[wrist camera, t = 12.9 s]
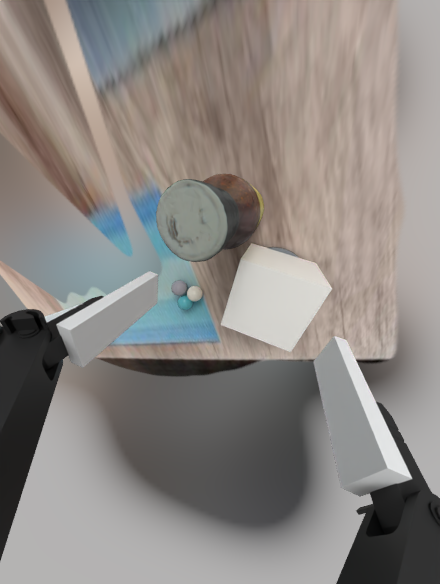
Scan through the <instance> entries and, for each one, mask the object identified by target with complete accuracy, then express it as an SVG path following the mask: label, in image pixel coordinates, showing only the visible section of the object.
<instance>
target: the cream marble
mask: <svg viewBox="0 0 440 584" xmlns="http://www.w3.org/2000/svg"><path fill="white" fill-rule="evenodd" d="M202 295H203V293H202V290H201V288H199V287H198V286H192V287H190V288H189V289H188V291H187V297H188V298H189V299H190V300H191V301H198V300H200V299H201V298H202Z"/></svg>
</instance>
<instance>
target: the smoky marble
mask: <svg viewBox="0 0 440 584" xmlns="http://www.w3.org/2000/svg"><path fill="white" fill-rule="evenodd" d="M171 289H172V292H173V293H174V294H175V295H178V296H181V295H183V294H185V293H186V291H187V285H186V283H185V282H183V281H181V280H178V281H175V282H174V283H173V284H172V287H171Z"/></svg>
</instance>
